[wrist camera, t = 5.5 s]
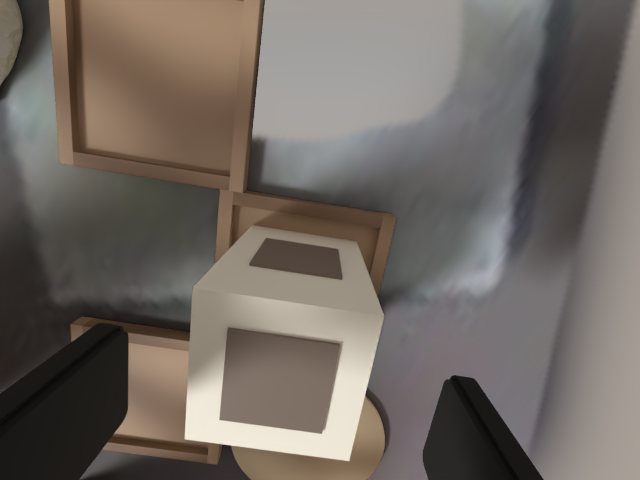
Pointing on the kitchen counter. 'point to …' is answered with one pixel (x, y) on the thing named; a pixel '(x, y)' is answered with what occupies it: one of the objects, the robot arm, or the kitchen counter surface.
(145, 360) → the tray
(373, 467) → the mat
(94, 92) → the tray
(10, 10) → the bread roll
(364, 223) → the tray
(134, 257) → the kitchen counter surface
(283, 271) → the white box with panels
